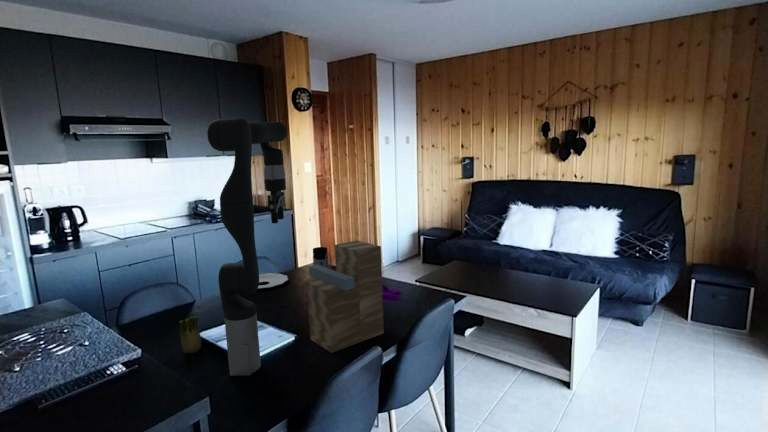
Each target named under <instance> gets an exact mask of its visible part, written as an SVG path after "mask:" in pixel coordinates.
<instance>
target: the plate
mask: <svg viewBox="0 0 768 432" xmlns="http://www.w3.org/2000/svg"><path fill="white" fill-rule="evenodd" d="M288 277H289V276H288V275H286V274H283V273H259V283H263V282H267V283H268V284H263V285H260V284H259V286H258V289H257V291H261V290H268V289H272V288H276V287H278V286H281V285H283V284H285V283H286V282H288V281H289V278H288Z"/></svg>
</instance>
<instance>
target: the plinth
mask: <svg viewBox="0 0 768 432" xmlns="http://www.w3.org/2000/svg"><path fill="white" fill-rule="evenodd" d="M334 255H335V257H334V260H335V271H337V272H339V273H342V274H345V275H348V276H350V277H353V278H354V288H353V289H349V290H346V291H345V290H343V289H340V288H338V287H335V286H333V285H331V284H328V283H326V282H323V281H321V280H318V279H316V278H315V279H313V280H312V279H311V280H308V281H306V289H307V290H306V291H307V292H306V293H307V304H308V305H307V307H308V320H309V321H308V323H309V324H308V325H309V337H310V340H311V341H312V342H314V343H316V344H317V345H318V346H320V347H322V348H324V350H327V351H328V352H329V353H332V354H333V353H336V352H338V351H340V350H344V349H345V348H348V347H350V346H354V345H357V344H358V343H363V342H365V341H366V340H369V339H373V338H375V337H378V336H380V335H381V336H382V335H383V334H384V332H385V331H384V330H385V329H384V326H385V325H384V302H383V300H384V299H383V294H382V284H383V272H382V271H383V270H382V268H383V267H382V246H381V245H377V244H373V243H369V242H366V241H360V240H353V241H348V242H347V241H346V242H343V243H337V244H334Z"/></svg>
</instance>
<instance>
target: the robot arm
mask: <svg viewBox="0 0 768 432" xmlns="http://www.w3.org/2000/svg"><path fill="white" fill-rule="evenodd" d="M206 133H207V134H206V135H207V136H206V137H207V140H208V143H209V144H210V147H212V148H213V149H214V150H215V151H218V152H234V162H233V163H234V165H233V169H232V171H231V173H230V176H229V177H228V179H227V181H226V183H225V184H224V186H223V188H222V191H221V193H220V196H219V207H220V208H219V209H220V218H221V219H220V220H221V222H222V224H223V226H224V228H225V229H226V230H227V232H228V234H230V236H231V237H232V239H233V240H234V241H235V243H236V244H237V246H238V248H239V251H240V253H241V257H242V262H227V263H223V264H222V265H221V266H220V268H219V272H218V288H219V295H220V300H221V301H220V302H221V308H222V311H223V315H224V326H225V327H224V329H225V338H226V348H227V358H228V369H229V376H231V377H233V376H236V377H237V376H251V375H252V374H253V373H255V372H257V371H258V370H259V369H260V368H261V366H262V362H261V352H260V337H259V329H258V328H259V327H258V318H257V317H258V315H257V306H256V304H255V302H253V301H251V300H249V299H245V298H244V297H242V296H241V295H246V294H247V295H248V294H254V293H256V292H257V291H258V290H257V289H258V286H259V285H260V282H259V274H260V272H259V263H258V261H259V260H258V256H257V249H256V248H257V247H256V239H255V211H254V196H253V184H252V183H253V182H252V151H253V147H252V146H253V145H258V144H259V145H260V148H261V152H262V157H263V177H264V178H263V179H264V180H263V181H264V190H265V191H266V192H270V193H269V194H270V195H267V211H268V213H270V220H271V221H270V222H271V224H278V223H279V220H284V219H285V215H284V213H285V212H284V209H285V207H286V203H285V202H286V200H285V192H284V191H286V189H287V182H286V180H287V179H286V169H285V165H284V151H283V150H282V149H281V148H277V147H273V146H272V145H271V143H275V142H276V143H278V142H283V141H284V140H286V138H287V135H288V130H287V127H286V125H285V124H284V123H283V122H281V121H266V122H265V121H264V122H263V121H260V122H257V121H255V122H254V121H253V122H248V120H247V119H245V118H239V117H238V118H236V117H235V118H220V119H216V120H212V121H211V123H209V125H208V127H207V130H206Z"/></svg>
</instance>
